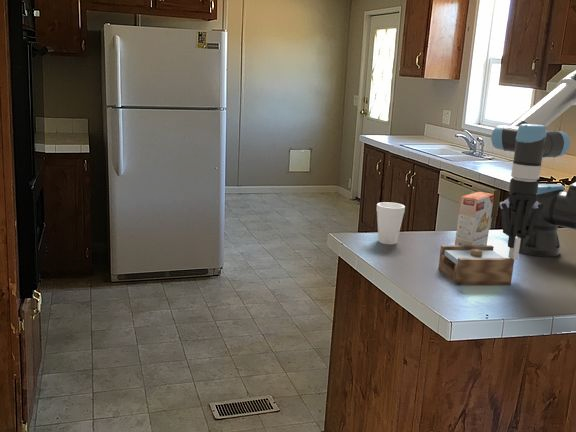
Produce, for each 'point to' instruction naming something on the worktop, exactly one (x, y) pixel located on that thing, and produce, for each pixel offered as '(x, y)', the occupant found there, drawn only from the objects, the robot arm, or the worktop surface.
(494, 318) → the worktop surface
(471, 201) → the cracker box
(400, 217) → the foam cup
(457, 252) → the lid
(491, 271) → the box
